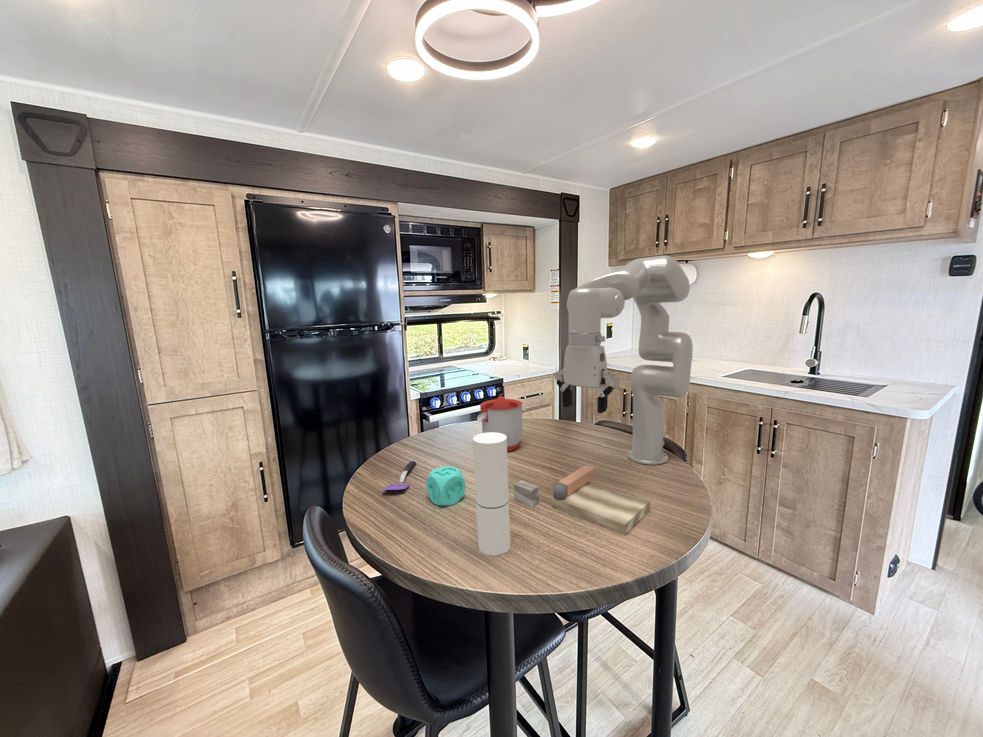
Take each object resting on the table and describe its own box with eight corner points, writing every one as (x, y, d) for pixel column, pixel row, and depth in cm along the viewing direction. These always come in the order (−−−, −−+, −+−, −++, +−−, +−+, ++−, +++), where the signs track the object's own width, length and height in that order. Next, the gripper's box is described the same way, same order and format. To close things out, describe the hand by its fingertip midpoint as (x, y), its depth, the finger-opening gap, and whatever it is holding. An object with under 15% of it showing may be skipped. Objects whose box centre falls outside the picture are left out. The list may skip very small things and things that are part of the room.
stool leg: (561, 500, 100) (561, 489, 99) (551, 496, 102) (550, 485, 101) (595, 477, 112) (595, 467, 111) (585, 474, 114) (585, 465, 113)
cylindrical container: (509, 535, 90) (505, 431, 86) (511, 554, 83) (507, 442, 79) (478, 537, 90) (473, 433, 86) (478, 556, 83) (472, 444, 79)
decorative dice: (426, 498, 109) (424, 472, 108) (450, 489, 114) (448, 463, 113) (442, 509, 103) (440, 481, 102) (466, 499, 108) (465, 472, 107)
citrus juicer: (471, 445, 150) (469, 394, 147) (511, 437, 157) (509, 389, 154) (488, 459, 136) (486, 403, 133) (531, 449, 143) (530, 396, 140)
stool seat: (551, 478, 119) (551, 464, 118) (649, 510, 98) (649, 493, 98) (514, 499, 107) (514, 484, 106) (618, 541, 86) (618, 522, 85)
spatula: (404, 464, 136) (404, 457, 135) (423, 463, 135) (423, 457, 135) (381, 497, 112) (380, 489, 112) (404, 497, 112) (403, 489, 111)
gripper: (625, 340, 91) (624, 411, 93) (562, 338, 103) (563, 401, 105) (610, 342, 86) (609, 418, 88) (546, 340, 98) (546, 407, 100)
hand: (584, 409), depth 97 cm, fingers open, 9 cm apart
